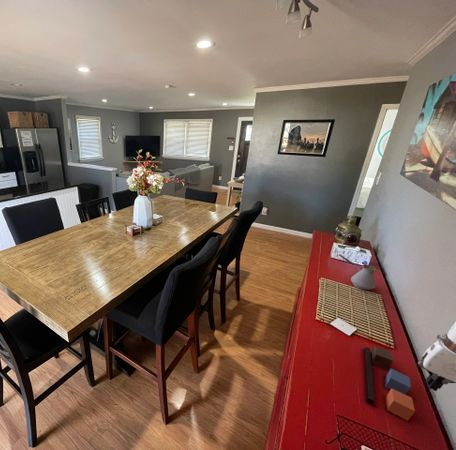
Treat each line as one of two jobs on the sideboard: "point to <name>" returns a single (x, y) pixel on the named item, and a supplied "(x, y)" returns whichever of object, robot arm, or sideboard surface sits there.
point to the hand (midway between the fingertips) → (431, 386)
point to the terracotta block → (400, 404)
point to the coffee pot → (363, 276)
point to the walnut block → (381, 357)
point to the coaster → (343, 326)
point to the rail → (369, 376)
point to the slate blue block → (397, 381)
